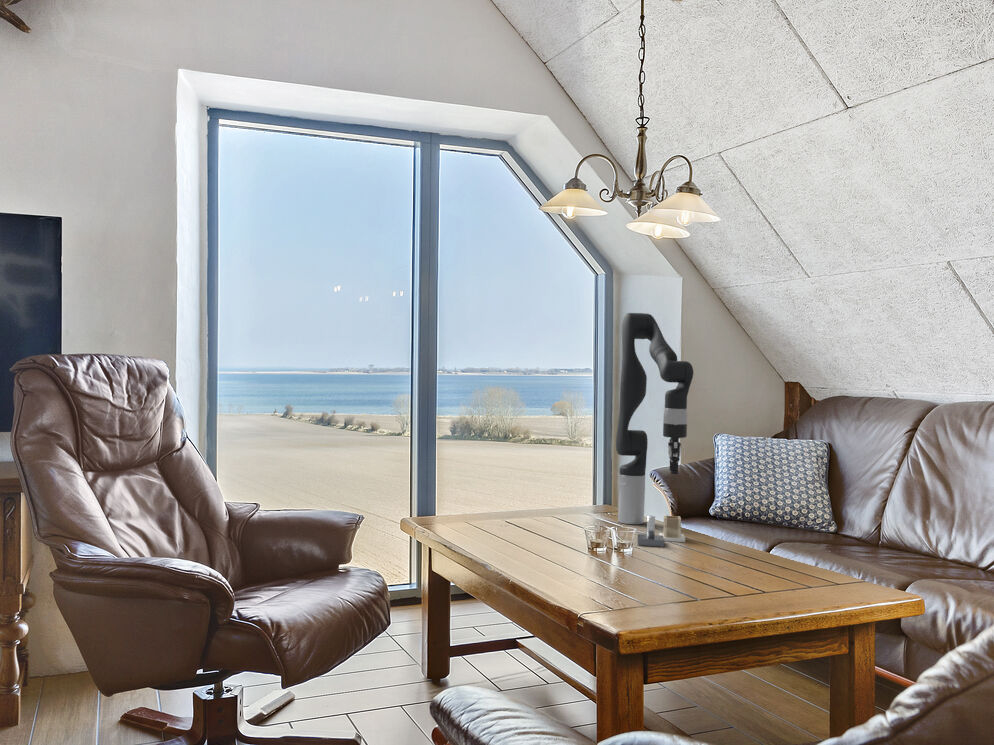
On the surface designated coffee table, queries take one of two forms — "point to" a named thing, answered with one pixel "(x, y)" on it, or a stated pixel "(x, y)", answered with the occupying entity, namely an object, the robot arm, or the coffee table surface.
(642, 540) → the pin stand
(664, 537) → the tile
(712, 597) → the coffee table surface
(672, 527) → the beige upright block
